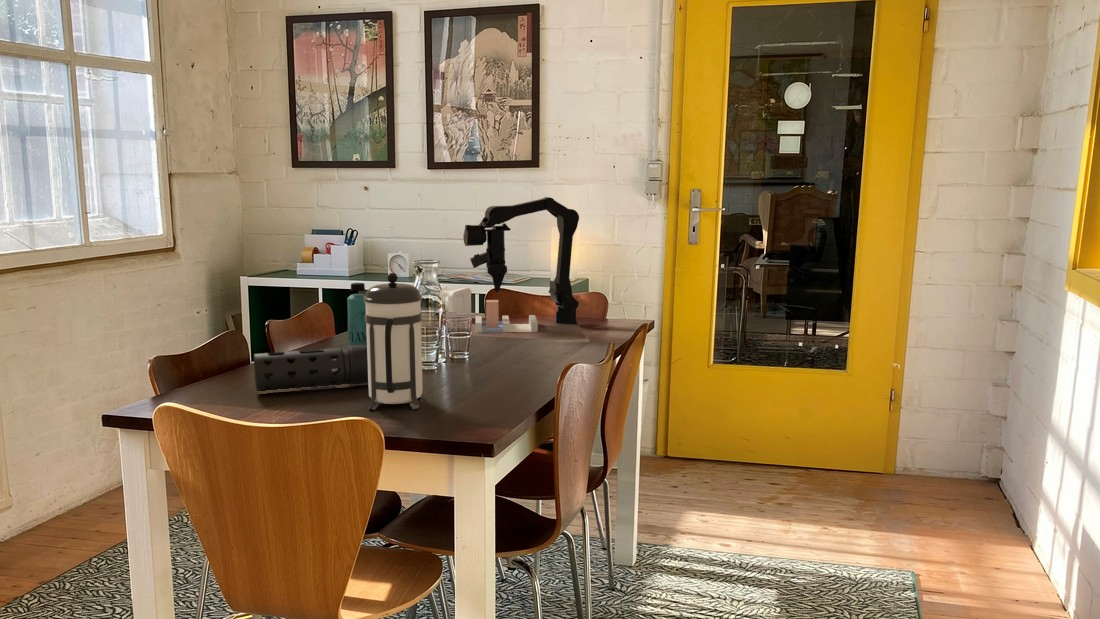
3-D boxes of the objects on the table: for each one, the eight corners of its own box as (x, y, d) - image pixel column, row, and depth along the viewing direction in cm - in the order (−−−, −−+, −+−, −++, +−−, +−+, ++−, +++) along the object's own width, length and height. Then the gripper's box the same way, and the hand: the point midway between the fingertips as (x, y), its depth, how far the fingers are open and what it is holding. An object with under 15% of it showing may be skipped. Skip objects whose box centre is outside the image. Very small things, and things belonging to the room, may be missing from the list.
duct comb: (534, 326, 291) (534, 315, 290) (537, 334, 277) (537, 322, 277) (475, 327, 289) (475, 315, 289) (475, 335, 276) (475, 323, 275)
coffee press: (345, 405, 194) (340, 273, 189) (404, 392, 205) (400, 267, 200) (389, 420, 182) (384, 280, 177) (449, 406, 193) (446, 274, 188)
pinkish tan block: (498, 326, 285) (498, 299, 283) (498, 328, 281) (498, 301, 280) (486, 326, 285) (486, 300, 283) (486, 329, 281) (486, 301, 279)
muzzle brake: (255, 390, 207) (253, 349, 205) (372, 381, 217) (371, 340, 215) (256, 400, 198) (254, 357, 197) (378, 390, 208) (377, 348, 206)
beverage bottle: (344, 352, 251) (341, 284, 248) (354, 347, 257) (352, 281, 254) (364, 353, 249) (362, 284, 246) (374, 348, 256) (372, 281, 252)
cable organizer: (446, 316, 311) (445, 285, 309) (472, 318, 308) (472, 286, 306) (426, 323, 297) (426, 290, 295) (454, 325, 294) (453, 292, 292)
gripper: (471, 242, 290) (472, 288, 292) (471, 247, 271) (472, 296, 274) (504, 242, 291) (504, 287, 293) (506, 247, 272) (507, 295, 275)
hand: (496, 291), depth 284 cm, fingers closed
